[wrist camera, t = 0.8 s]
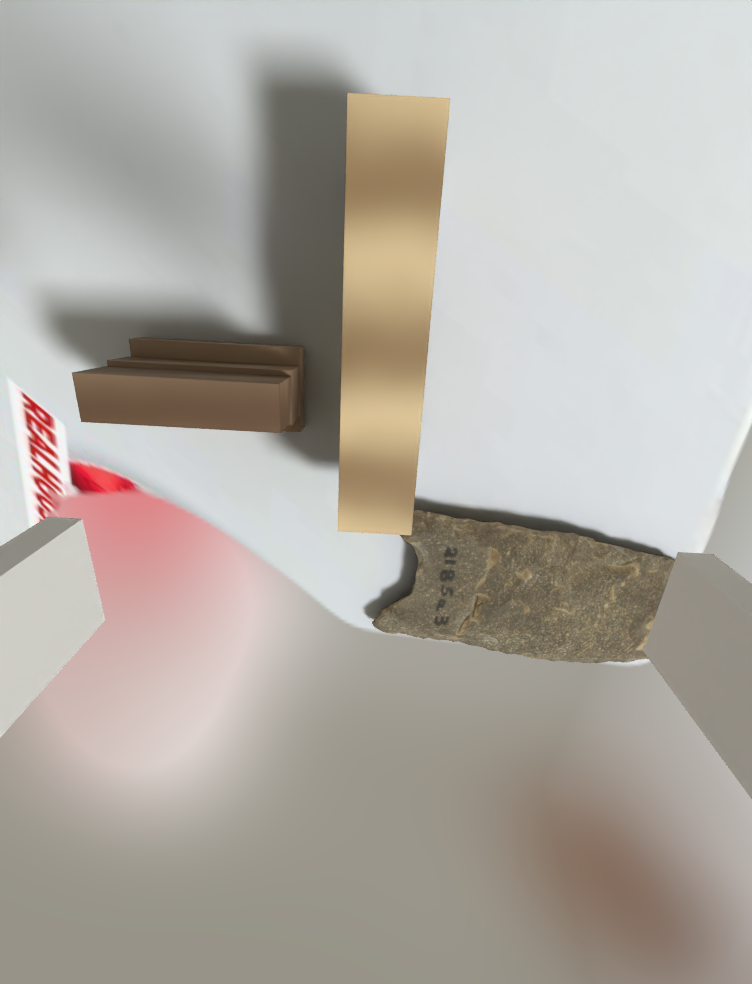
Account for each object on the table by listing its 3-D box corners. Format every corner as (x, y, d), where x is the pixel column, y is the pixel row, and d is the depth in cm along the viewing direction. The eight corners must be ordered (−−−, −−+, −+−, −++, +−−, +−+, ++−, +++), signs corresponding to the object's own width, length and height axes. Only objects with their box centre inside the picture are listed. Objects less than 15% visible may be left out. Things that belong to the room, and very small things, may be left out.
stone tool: (370, 623, 36) (674, 666, 37) (369, 648, 33) (696, 694, 34) (394, 496, 32) (733, 548, 33) (395, 513, 29) (764, 569, 30)
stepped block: (141, 337, 28) (66, 344, 21) (303, 346, 28) (278, 355, 21) (152, 417, 30) (86, 446, 23) (304, 426, 30) (280, 457, 23)
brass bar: (354, 131, 21) (347, 92, 17) (439, 136, 21) (450, 98, 17) (344, 502, 28) (337, 531, 24) (408, 506, 28) (411, 535, 24)
